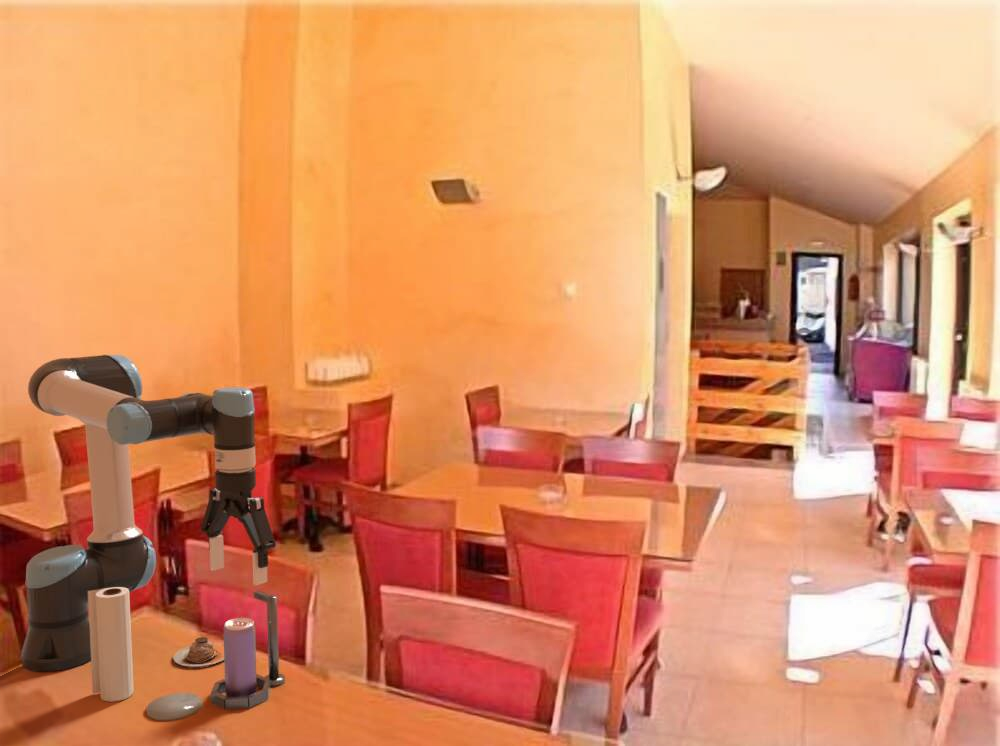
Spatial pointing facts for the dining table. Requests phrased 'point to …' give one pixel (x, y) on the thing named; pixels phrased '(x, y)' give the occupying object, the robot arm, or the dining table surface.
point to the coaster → (173, 706)
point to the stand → (262, 682)
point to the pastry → (197, 653)
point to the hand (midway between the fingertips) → (238, 575)
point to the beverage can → (240, 657)
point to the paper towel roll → (111, 643)
